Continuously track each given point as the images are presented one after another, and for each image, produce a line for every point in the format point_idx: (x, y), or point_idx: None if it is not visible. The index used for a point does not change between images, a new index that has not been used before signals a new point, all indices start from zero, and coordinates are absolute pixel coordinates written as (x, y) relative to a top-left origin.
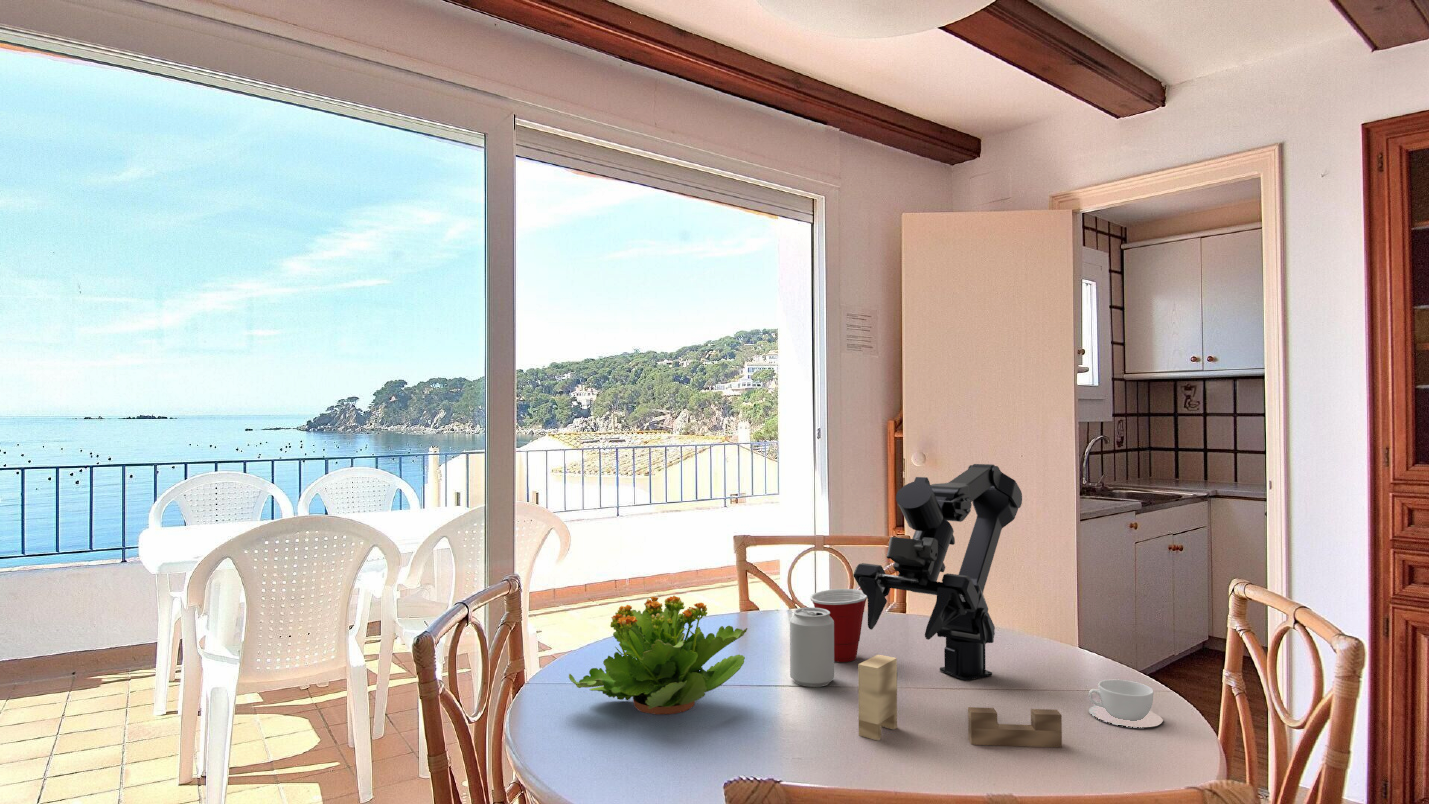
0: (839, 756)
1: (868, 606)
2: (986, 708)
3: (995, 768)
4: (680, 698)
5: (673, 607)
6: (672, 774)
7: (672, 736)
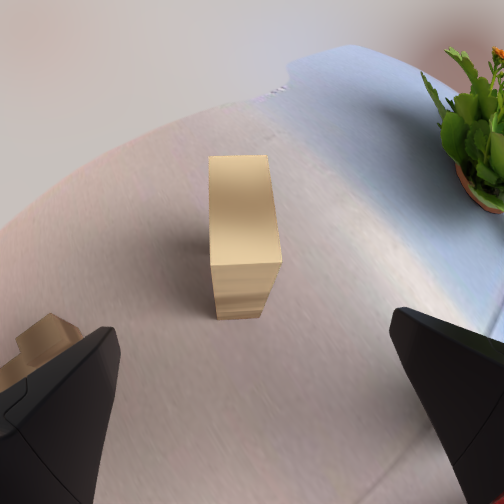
0: None
1: (477, 333)
2: (34, 353)
3: (35, 263)
4: (457, 149)
5: None
6: (328, 73)
7: (404, 123)
